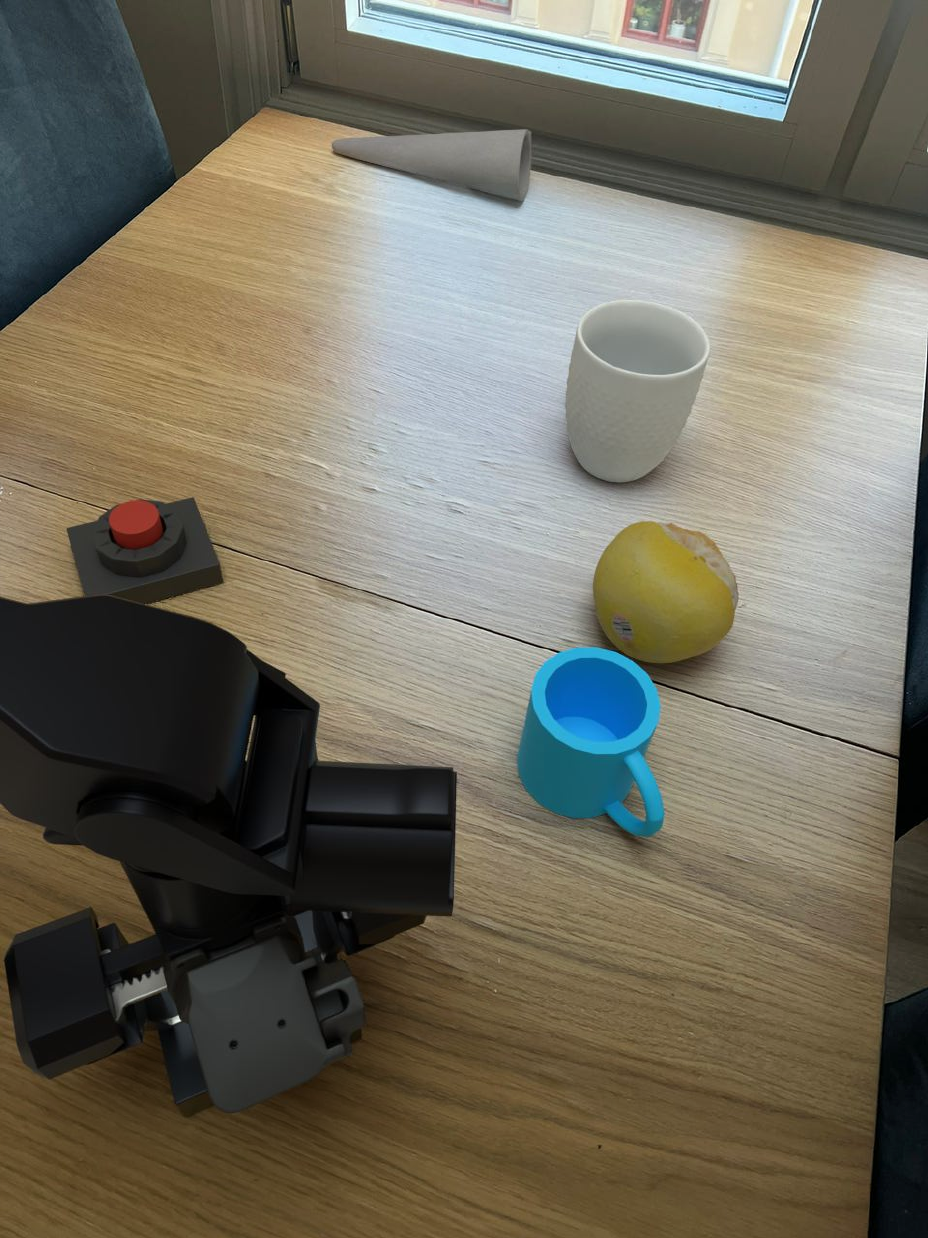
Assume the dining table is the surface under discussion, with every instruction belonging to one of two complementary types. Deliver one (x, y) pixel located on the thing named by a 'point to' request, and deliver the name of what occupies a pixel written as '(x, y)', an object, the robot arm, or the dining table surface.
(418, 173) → the gray cone
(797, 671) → the dining table surface
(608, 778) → the mug
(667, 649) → the fruit
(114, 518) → the button
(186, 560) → the button block
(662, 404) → the mug
